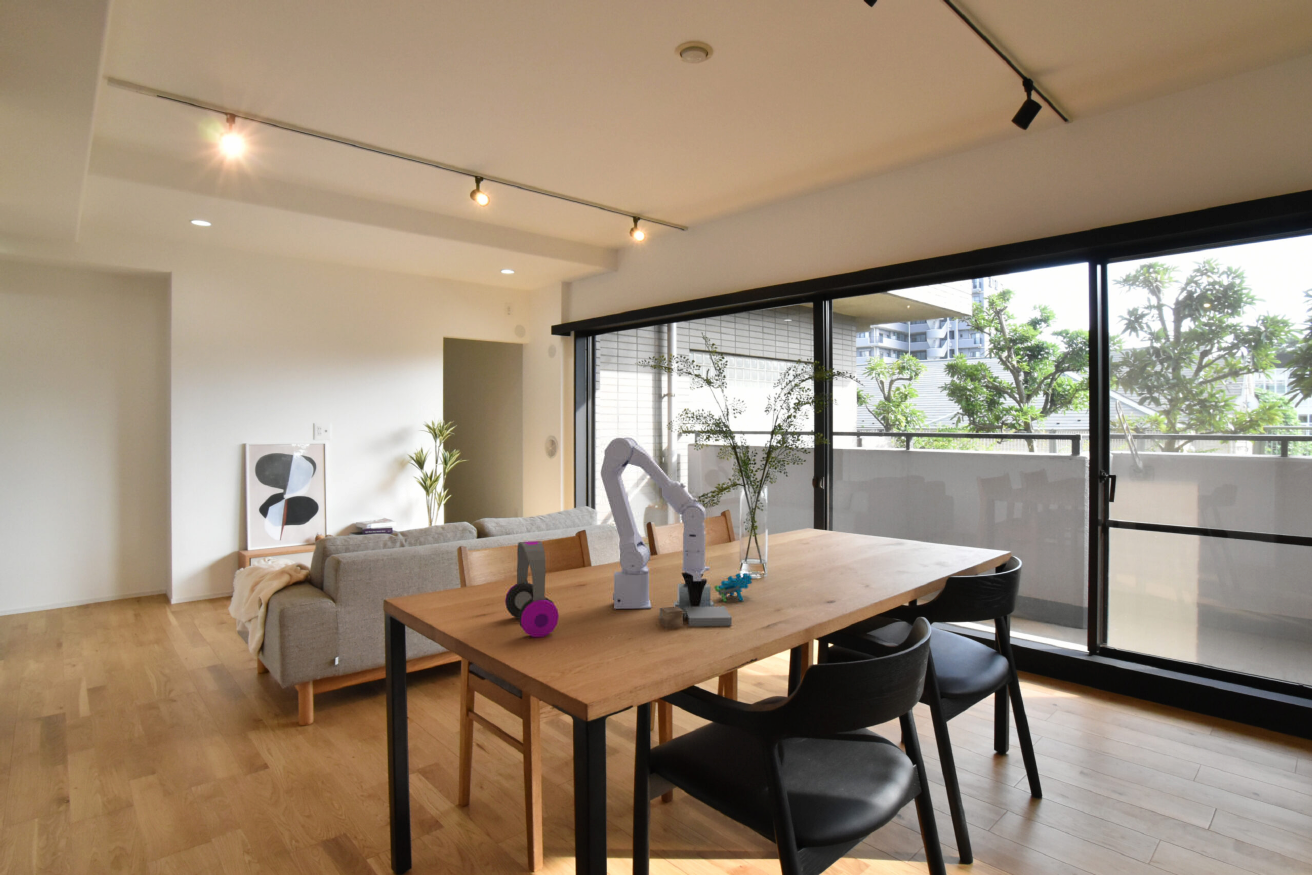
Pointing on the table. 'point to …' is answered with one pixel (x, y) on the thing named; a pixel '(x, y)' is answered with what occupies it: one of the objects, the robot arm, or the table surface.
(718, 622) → the stand
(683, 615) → the bolt
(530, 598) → the headphones
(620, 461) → the robot arm
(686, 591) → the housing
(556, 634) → the table surface
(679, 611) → the walnut block
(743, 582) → the blue bumpy figure
